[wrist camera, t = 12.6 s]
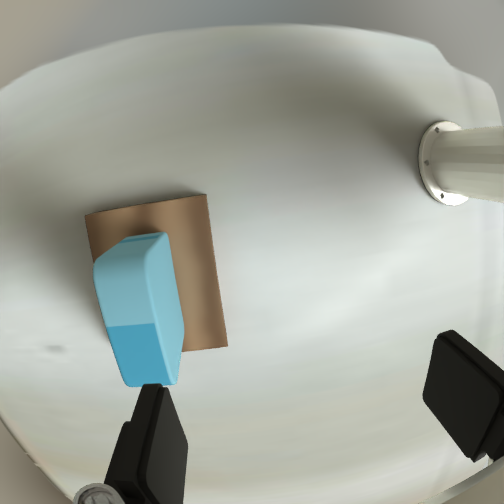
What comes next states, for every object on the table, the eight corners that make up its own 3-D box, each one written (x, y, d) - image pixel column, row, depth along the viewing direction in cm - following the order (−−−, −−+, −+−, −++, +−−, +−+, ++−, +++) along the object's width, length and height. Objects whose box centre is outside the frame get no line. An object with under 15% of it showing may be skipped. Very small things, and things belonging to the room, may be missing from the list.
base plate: (206, 194, 35) (205, 195, 32) (226, 334, 40) (227, 346, 37) (94, 212, 34) (84, 215, 31) (125, 345, 38) (120, 356, 35)
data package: (128, 234, 32) (88, 263, 21) (167, 229, 33) (144, 255, 21) (149, 332, 35) (127, 394, 24) (185, 329, 36) (176, 392, 24)
